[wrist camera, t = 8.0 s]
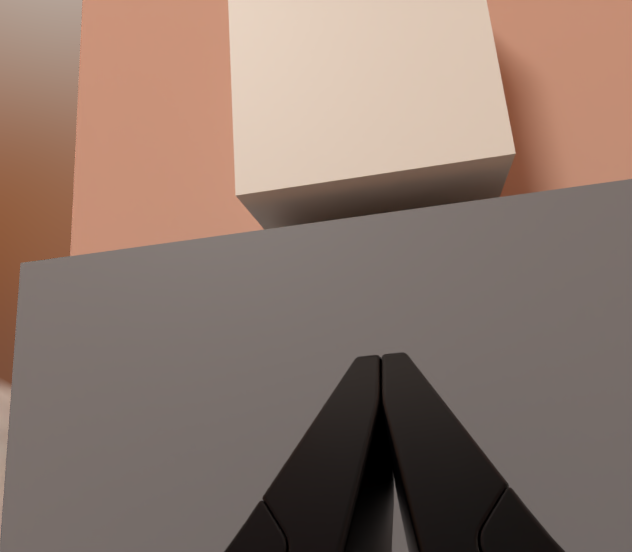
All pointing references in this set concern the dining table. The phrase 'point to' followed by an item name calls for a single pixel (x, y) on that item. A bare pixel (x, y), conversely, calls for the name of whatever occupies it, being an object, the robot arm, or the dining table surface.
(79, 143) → the mat
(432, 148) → the card box
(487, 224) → the deck
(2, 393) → the dining table surface
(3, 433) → the dining table surface
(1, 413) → the dining table surface
